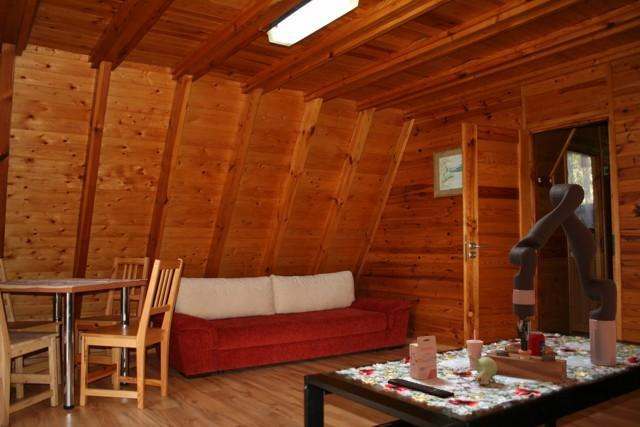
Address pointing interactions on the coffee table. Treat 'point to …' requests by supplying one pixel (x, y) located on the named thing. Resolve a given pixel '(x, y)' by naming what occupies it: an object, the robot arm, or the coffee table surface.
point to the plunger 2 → (548, 358)
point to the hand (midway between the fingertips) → (524, 350)
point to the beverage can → (536, 344)
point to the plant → (516, 346)
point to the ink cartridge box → (423, 358)
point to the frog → (483, 369)
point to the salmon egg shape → (524, 354)
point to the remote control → (421, 388)
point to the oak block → (530, 367)
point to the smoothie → (474, 349)
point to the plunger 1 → (502, 353)
